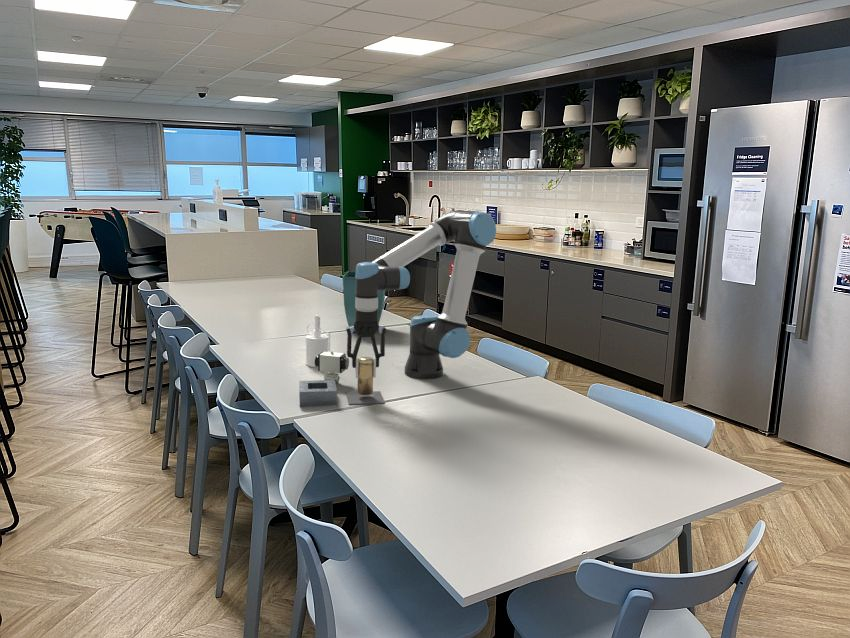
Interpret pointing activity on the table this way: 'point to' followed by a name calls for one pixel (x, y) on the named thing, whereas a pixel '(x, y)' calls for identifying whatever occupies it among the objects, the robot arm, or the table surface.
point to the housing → (317, 393)
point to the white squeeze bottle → (316, 343)
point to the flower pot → (350, 295)
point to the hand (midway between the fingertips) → (365, 376)
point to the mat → (365, 398)
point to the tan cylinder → (365, 375)
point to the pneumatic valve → (332, 364)
